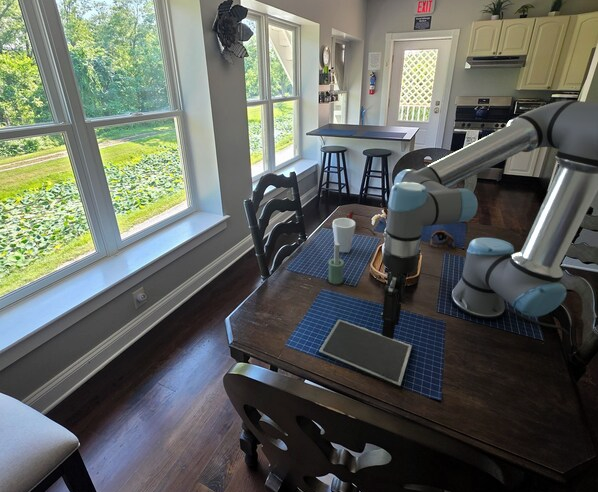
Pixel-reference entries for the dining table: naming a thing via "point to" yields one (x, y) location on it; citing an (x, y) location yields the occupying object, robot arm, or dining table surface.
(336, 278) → the pen pot
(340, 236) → the foam cup
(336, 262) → the stylus
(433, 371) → the dining table surface
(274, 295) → the dining table surface
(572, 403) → the dining table surface
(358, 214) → the glasses
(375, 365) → the tablet
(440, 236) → the pottery mug
